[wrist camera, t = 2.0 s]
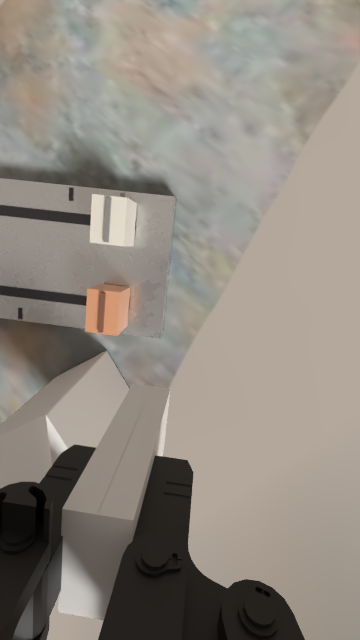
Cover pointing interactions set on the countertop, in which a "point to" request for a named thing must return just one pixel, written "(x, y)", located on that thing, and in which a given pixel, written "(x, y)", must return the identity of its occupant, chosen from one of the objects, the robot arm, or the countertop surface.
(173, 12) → the countertop surface
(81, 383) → the milk carton
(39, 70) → the countertop surface
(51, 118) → the countertop surface
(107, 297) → the fader
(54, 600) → the robot arm
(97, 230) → the block
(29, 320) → the console
